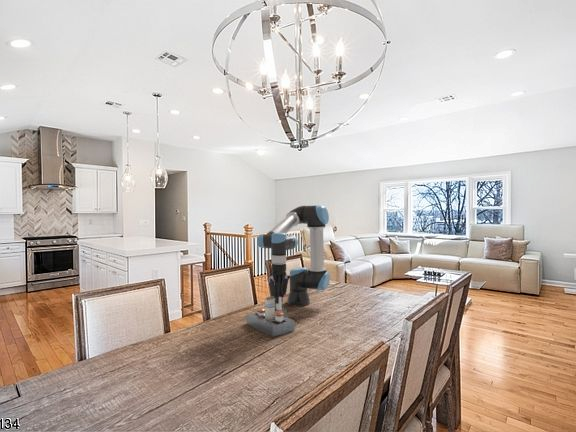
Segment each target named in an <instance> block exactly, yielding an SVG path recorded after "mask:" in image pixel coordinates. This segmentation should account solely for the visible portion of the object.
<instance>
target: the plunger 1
mask: <svg viewBox="0 0 576 432" xmlns="http://www.w3.org/2000/svg"><path fill="white" fill-rule="evenodd" d="M256 312H258V316H261V315H265V307H257V308H256Z"/></svg>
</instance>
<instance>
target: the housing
mask: <svg viewBox="0 0 576 432" xmlns="http://www.w3.org/2000/svg"><path fill="white" fill-rule="evenodd" d="M295 322H296V321H295V320H294V319H292V318H290V317H288V316H287V317H284V316H283V323H280V324H275V319H273V320H269V321H268V320H266V319H265V315H261V316H258V312H257V311H255V312H252V313H248V314H246V324H247V325H248V326H250V327H252V328H254V329H256V330H258V331H260V332H262V333H264V334H266V335H267V336H269V337H271V338H276V337H278V336H282V335H285V334H289V333H290V332H294V331H295V329H296V328H295V327H296V326H295V325H296V323H295Z"/></svg>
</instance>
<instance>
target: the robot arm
mask: <svg viewBox="0 0 576 432" xmlns="http://www.w3.org/2000/svg"><path fill="white" fill-rule="evenodd" d="M329 217H330V216H329V211H328V209H327V208H326V206H324V205H300V206H297V207H295V208H294V209H291V210H290V211H289V212H288V213H286V215H285V217H284V218H283V219H282V220H281V221H280V222H279V223H278V224H276V225H275V226H274V227H273V228H272V229H270V230H269V231H268V232H266V234H264V233H263V234H259V235H258V237H257V239H256V243H257V246H258V247H259V248H261V249H271V274H270V275H271V276H270V277H268V278H267V279H266V280H267V282H268V284H269V288H270V294H271V296H273V297H274V299H275V303H276V309H277V310H282V305H283V301H284V300H283V299H284V297H285V295H286V294H287V289H288V285H289V292H288V296H287V299H286V303H287V305H290V306H292V307H305V306H308V305H310V304H311V300H310V296H309V293H308V289H309V290H316V291H325V290H326V289H328V287H329V286H330V285H329V284H330V280H331V274H330V272H328V271H327V268H326V266H325V258H324V257H325V255H324V254H325V253H324V252H325V251H324V250H325V249H324V247H325V246H324V229H325V228H326V226H327V224H328V223H329V219H330V218H329ZM301 224H303V225H304V224H306V227H307V228H308V230H309V253H310V254H309V259H310V266H309V267H308V268H307V267H296V268H292V269H290V271H289V275H288V274H287V264H286V263H287V251H289V250H295V248H296V247H298V245H299V244H298V243H299V240H298V237H296V236H295V235H292V234H291V235H290V234H288V235H287V233H289V231H291V229H292V228H294V227H297V226H298V225H301Z"/></svg>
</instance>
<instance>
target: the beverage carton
mask: <svg viewBox="0 0 576 432" xmlns="http://www.w3.org/2000/svg"><path fill="white" fill-rule="evenodd" d="M275 311H283V312H284V315H283V316H284V317H287V318H288V316H287V312H288V311H287V308H286V307H285V306H284V305H283V304H282V310H277V309H276V303H275Z"/></svg>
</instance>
